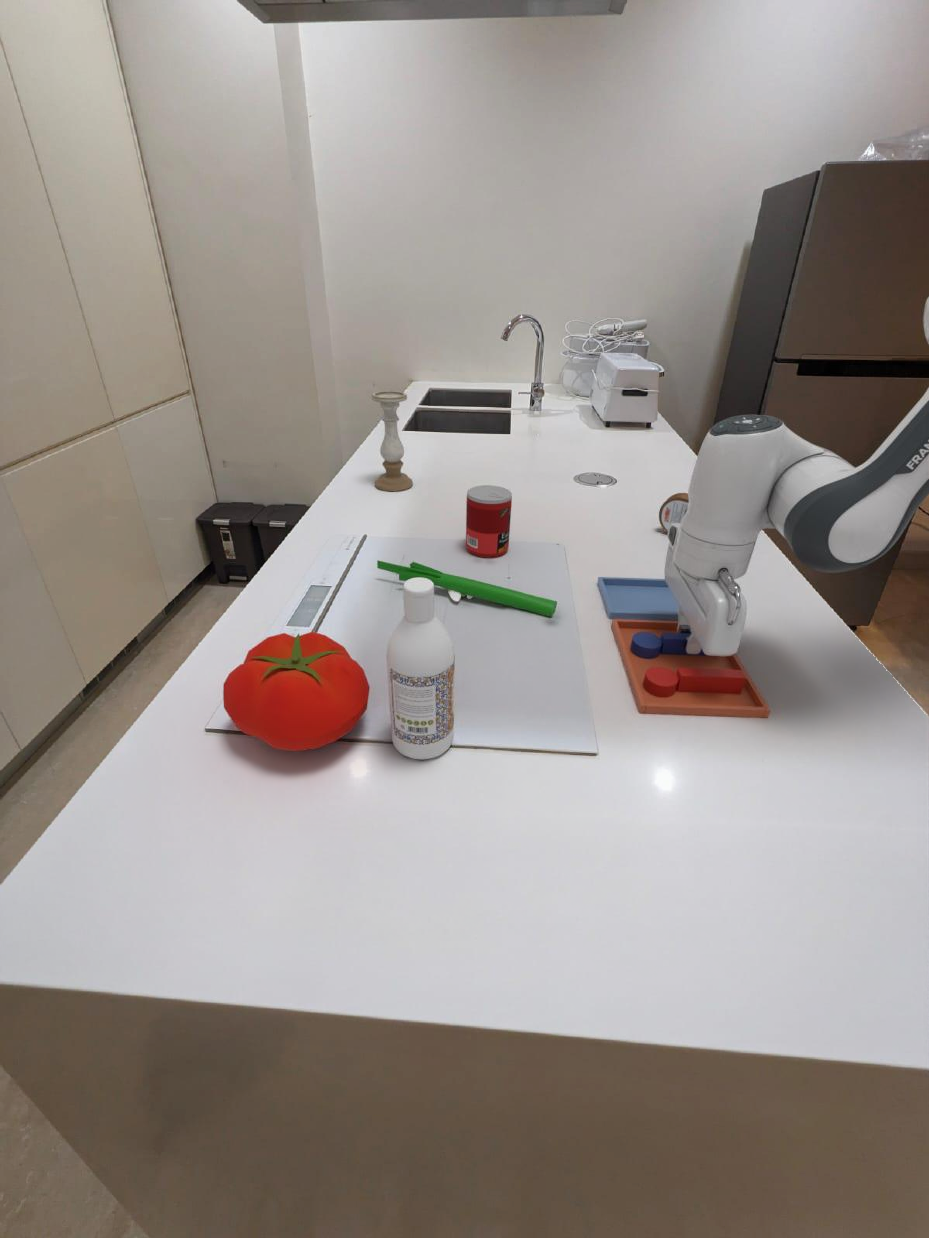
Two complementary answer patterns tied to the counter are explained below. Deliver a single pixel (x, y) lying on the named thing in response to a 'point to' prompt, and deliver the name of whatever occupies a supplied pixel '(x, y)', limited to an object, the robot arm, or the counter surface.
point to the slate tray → (638, 599)
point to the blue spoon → (659, 644)
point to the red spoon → (692, 681)
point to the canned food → (488, 520)
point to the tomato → (296, 692)
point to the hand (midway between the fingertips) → (687, 643)
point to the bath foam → (421, 676)
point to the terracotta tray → (679, 702)
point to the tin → (673, 510)
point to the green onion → (472, 588)
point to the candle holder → (391, 444)
